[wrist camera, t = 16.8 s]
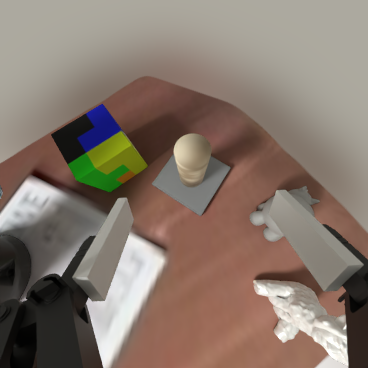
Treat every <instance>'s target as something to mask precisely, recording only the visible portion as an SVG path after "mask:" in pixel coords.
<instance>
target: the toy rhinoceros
mask: <svg viewBox="0 0 368 368" xmlns="http://www.w3.org/2000/svg"><path fill="white" fill-rule="evenodd" d="M307 191H308V190H307V186H304V187H301V188H300V189H293V190H290V191H288V193H289V194H290V195H291V196H292V197H293V198H295V199H296V200H297V201H298V202H299V203H300V204H301V205H302V206H303V207H304V208H305V209H306V210H307V211H308V212H309V213H310V214H311V215H312V216H313V217H314V218H315V216H314V211H313V209H312V207H311V205H312V204H316V203H318V202H320V201H319V200H316V199H313V198H311V196H310V195H309V194H308V193H307ZM273 199H274V196H273V197H271V198H270V199H269V200H268V201H267V202H266V203H262V204H260V205H259V206H258V211H255V212H252V213H251V214H250V221H251V222H252V224H254V225H257V226H259V225H262V224H264V223H265V224H266V225H267V226H268V227H266V228H265V229H264V231H263V233H264V236H265V238H266V239H267V240H268V241H277V240H279V239H281V238H282V237H283V236H284V235H283V233H282V232H281V230H280V229H279V228H278V226H277V225H276V223H275V222H274V221H273V219H272V218H271V216H270V215H269V211H270V208H271V205H272V202H273ZM284 237H285V236H284Z"/></svg>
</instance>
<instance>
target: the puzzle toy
mask: <svg viewBox="0 0 368 368" xmlns="http://www.w3.org/2000/svg"><path fill="white" fill-rule="evenodd" d="M51 136H52V137H53V139H54V141H55V143H56V145H57V146H58V148H59V150H60V152H61V153H62V155H63V157H64V159H65V161H66V162H67V164H68V166H69V168H70V169H71V171H72V173H73V175H74V177H75V178H76V180H77V181H79V182H82V183H85V184H88V185H90V186H93V187H96V188H99V189H102V190H105V191H108V192H111V191H113V190H114V189H116V188H117V187H119V186H120V185H122V184H123V183H125V182H126V181H128V180H129V179H130V178H132V177H133V176H135V175H136V174H138V173H139V172H141V171H142V170H144V169H145V168H147V167H148V165H147V164H146V163H145V161H144V160H143V158H142V157H141V155H140V154H139V153H138V151H137V150H136V148H135V147H134V146H133V144H132V143H131V141H130V140H129V139H128V137H127V136H126V134H125V133H124V132H123V130H122V129H121V128H120V126H119V125H118V124H117V122H116V121H115V120H114V118H113V117H112V116H111V114H110V113H109V112H108V110H107V109H106V108H105V106H104V105H103V104H101V105H99V106H98V107H96V108H94V109H93V110H91V111H89V112H88V113H86V114H84V115H83V116H81V117H79V118H78V119H76V120H74V121H73V122H71V123H69V124H68V125H66V126H64V127H63V128H61V129H59V130H58V131H56V132H54V133H53V134H51Z"/></svg>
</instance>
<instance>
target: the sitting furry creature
mask: <svg viewBox="0 0 368 368" xmlns="http://www.w3.org/2000/svg"><path fill="white" fill-rule="evenodd" d="M253 283H254V284H255V285H254V288H255V291H256V293H257V294H259V295H264V296H266V297H268V298H269V300H270V302H271V303H272V304H273V305H274V306H273V309H274V310H275V313H276V314H277V316H278V315H279V316H278V318H279V317H280V318H281V319H280V318H279V321H278V323H277V325H276V326H275V329H274V330H273V331H274V333H275V334H276V335H277V336H278V338H279V339H280V340H282V342H283V343H284V342H286V341H287V340H288V339H293V338H294V337H295V335H296V334H297V333H298V332H299V329H300V330H302V331H303V332H306V333H307V335H309V336H312V337H313V339H314V341H315V342H317V343H319V344H321V345H322V346H323V347H324V348H325V350H326V351H327V352H328V354H329V355H330V356H331V357H332V358H333V359H335V360H337V361H339V362H341V363H342V364H344V365H346V366H348V350H347V332H346V314H345V315H341V316H339V317H338V318H337V317H335V316H332V315H328V314H327V312H326V309H325V308H324V307H322V306H321V305H320V302H319V300H318V299H317V296H316V295H315V292H314V291H312V290H311V288H308V287H306V286H305V285H303V284H300V283H299V282H297V283H296V282H294V281H293V282H291V281H279V280H278V281H276V280H274V281H273V280H268V279H267V280H265V279H263V280H254V281H253ZM278 296H280V297H281V298H279V297H278Z"/></svg>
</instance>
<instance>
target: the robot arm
mask: <svg viewBox="0 0 368 368" xmlns="http://www.w3.org/2000/svg"><path fill="white" fill-rule="evenodd" d="M1 196H2V188H1V186H0V198H1ZM269 215H270V216H271V218H272V219H273V221H274V222H275V223H276V225H277V226H278V228H279V229H280V230H281V232H282V233H283V235H284V236H285V237H286V239H287V240H288V242H289V243H290V244H291V246H292V247H293V249H294V250H295V252H296V253H297V254H298V256H299V257H300V259H301V260H302V261H303V263H304V264H305V266H306V267H307V268H308V270H309V271H310V273H311V274H312V275H313V277H314V278H315V280H316V281H317V282H318V284H319V285H320V287H321V288H322V290H323V291H337V290H338V289H339V288H340V287H341V286H343V287H344V288H345V290H346V292H345V293H344V294H343V295H342V296H341V297H339V299H338V301H339V302H342V301H343V300H344V299H345V304H344V305H345V314H346V332H347V350H348V368H368V260H367V259H366V258H365V257H364V256H363V255H362V254H361V253H360V252H359V251H358V250H356V249H355V248H354V247H353V246H352V245H351V244H349V243H348V241H346V240H345V239H344V238H342V236H341V235H340V234H339V233H338V232H337V231H335V230H334V229H332V228H331V227H329V226H328V225H326V224H321V223H320V222H319V221H318V220H317V219H315V218H314V217H313V216H312V215H311V214H310V213H309V212H308V211H307V210H306V209H305V208H304V207H303V206H302V205H301V204H300V203H299V202H298V201H297V200H296V199H295V198H293V197H292V196H291V195H290V194H289V193H288V192H287V191H286V190H276V193H275V196H274V199H273V202H272V205H271V208H270V211H269ZM133 221H134V219H133V216H132V213H131V209H130V206H129V203H128V200H127V198H118V199H117V201H116V203H115V205H114V206H113V208H112V210H111V211H110V213H109V215H108V217H107V218H106V220H105V222H104V223H103V225H102V227H101V229H100V230H99V232H98V234H97V236H90V237H88V238H87V239H86V240H85V241H84V242H83V244H82V245H81V247H80V248H79V251H77V253H76V255H75V257H74V258H73V259H72V261H71V262H70V264H69V265H68V267H67V269H66V270H65V272H64V273H63V275H62V276H61V277H60V276H59V275H58V274H49V275H47V276H45V277H43V278H41V279H40V280H38V281H37V282H36V283H35V284H34V285H33V286H32V287H31V288H30V290H29V291H28V293H27V297H26V299H27V300H26V301H23V302H21V301H19V298H20V297H21V295H22V294H23V292H24V290H25V288H26V285H27V283H28V280H29V276H30V268H31V263H30V256H29V253H28V251H27V249H26V247H25V245H24V244H23V243H22V242H21V241H20V240H18V239H17V238H15V237H12V236H8V235H0V368H103V365H102V361H101V357H100V354H99V350H98V346H97V342H96V338H95V335H94V331H93V327H92V323H91V319H90V316H89V312H88V308H87V305H86V302H87V300H88V297H89V298H90V299H91V300H92V301H105V299H106V296H107V293H108V290H109V288H110V285H111V282H112V279H113V277H114V274H115V271H116V268H117V266H118V263H119V260H120V257H121V254H122V252H123V249H124V246H125V243H126V241H127V238H128V235H129V232H130V230H131V227H132V224H133Z"/></svg>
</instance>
